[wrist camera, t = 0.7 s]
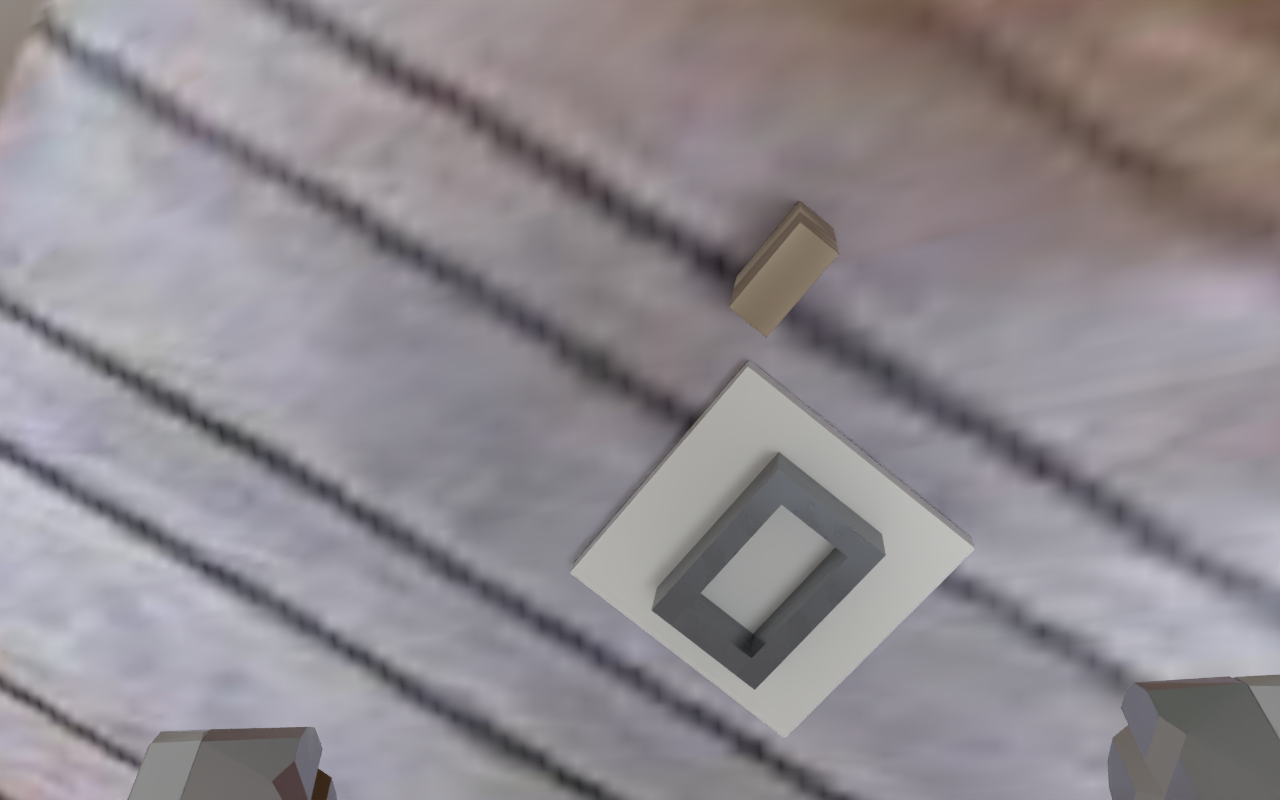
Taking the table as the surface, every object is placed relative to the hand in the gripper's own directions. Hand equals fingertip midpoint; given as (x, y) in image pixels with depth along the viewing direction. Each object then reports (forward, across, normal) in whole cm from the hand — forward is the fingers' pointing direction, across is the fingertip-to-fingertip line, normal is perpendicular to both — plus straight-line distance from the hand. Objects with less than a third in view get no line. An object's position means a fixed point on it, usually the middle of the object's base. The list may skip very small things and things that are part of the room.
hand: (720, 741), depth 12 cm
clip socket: (+35, +5, -30) cm, 46 cm away
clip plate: (+36, +5, -30) cm, 47 cm away
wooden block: (+41, +6, -16) cm, 44 cm away
